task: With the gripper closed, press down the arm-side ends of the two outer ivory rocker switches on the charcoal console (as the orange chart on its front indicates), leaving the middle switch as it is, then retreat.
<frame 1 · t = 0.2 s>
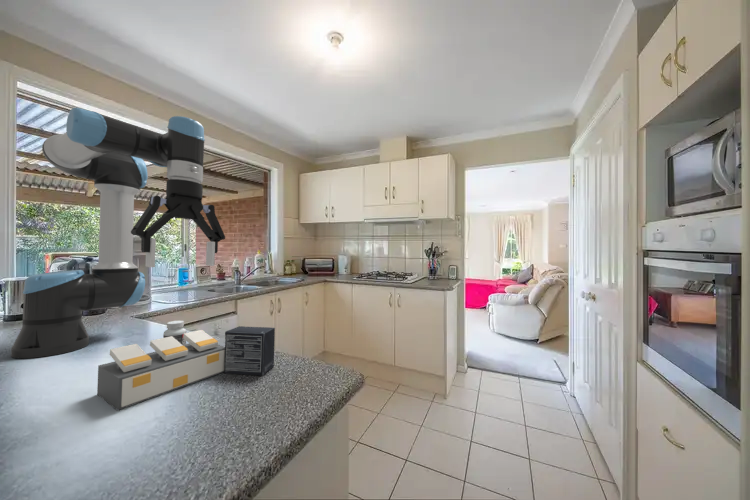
hand: (182, 266, 70), 26 cm above the counter, fingers open, 13 cm apart
switch C: (200, 339, 70), point 8 cm above the counter, hinge at 14.0°
pill bottle: (174, 356, 80), on the counter
switch A: (130, 356, 58), point 8 cm above the counter, hinge at 14.0°
console: (167, 381, 64), on the counter
switch B: (169, 347, 64), point 8 cm above the counter, hinge at 14.0°
small box: (250, 370, 72), on the counter
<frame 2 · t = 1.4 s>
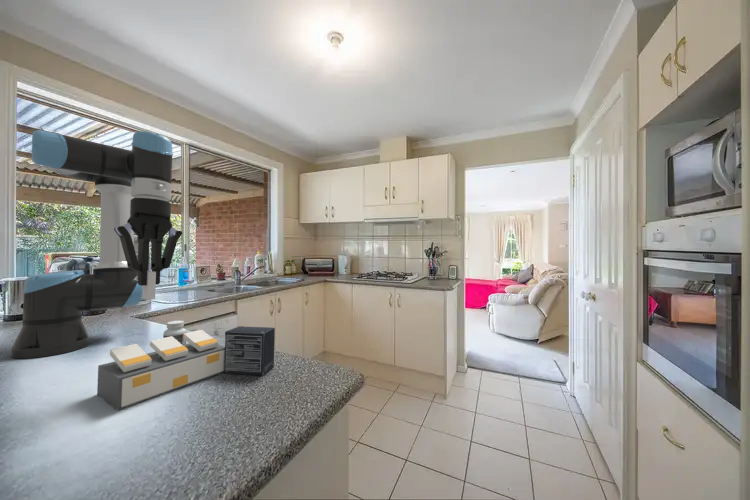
hand: (148, 299, 66), 19 cm above the counter, fingers closed
nothing on the counter moved.
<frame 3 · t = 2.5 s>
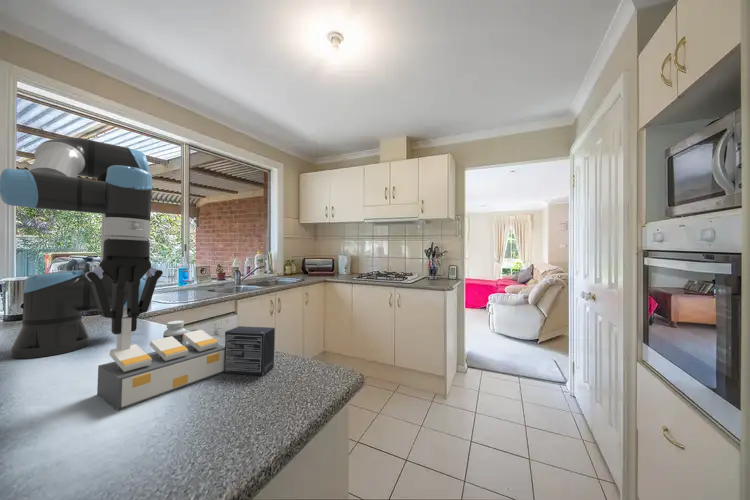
hand: (123, 347, 60), 9 cm above the counter, fingers closed
switch A: (130, 356, 58), point 8 cm above the counter, hinge at 12.1°, touching gripper
everything else where it was.
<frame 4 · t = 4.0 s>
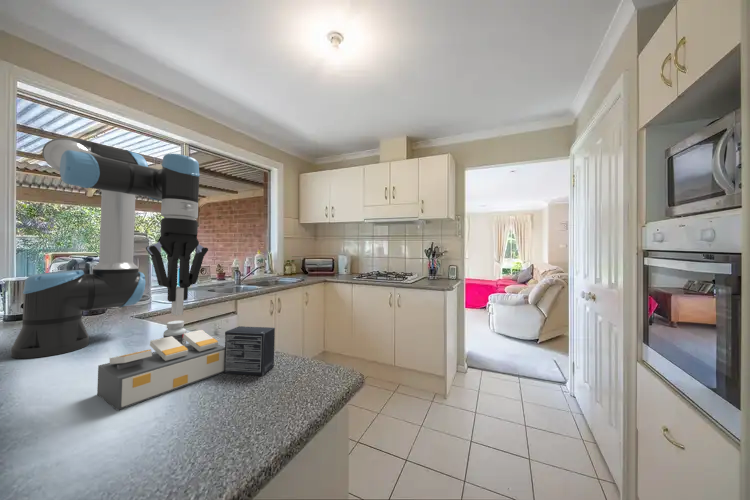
hand: (177, 314, 69), 15 cm above the counter, fingers closed
switch A: (130, 356, 58), point 8 cm above the counter, hinge at -14.0°
everything else where it was.
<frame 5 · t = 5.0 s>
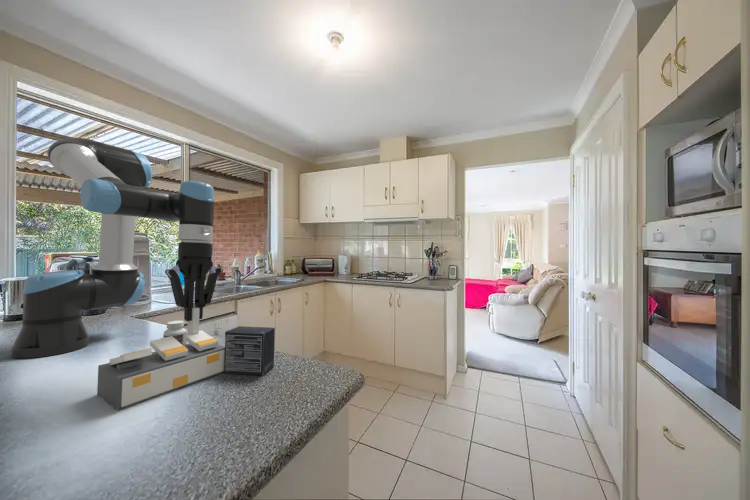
hand: (193, 332, 72), 9 cm above the counter, fingers closed
switch C: (200, 339, 70), point 8 cm above the counter, hinge at 12.2°, touching gripper
switch A: (130, 356, 58), point 8 cm above the counter, hinge at -17.9°
everything else where it was.
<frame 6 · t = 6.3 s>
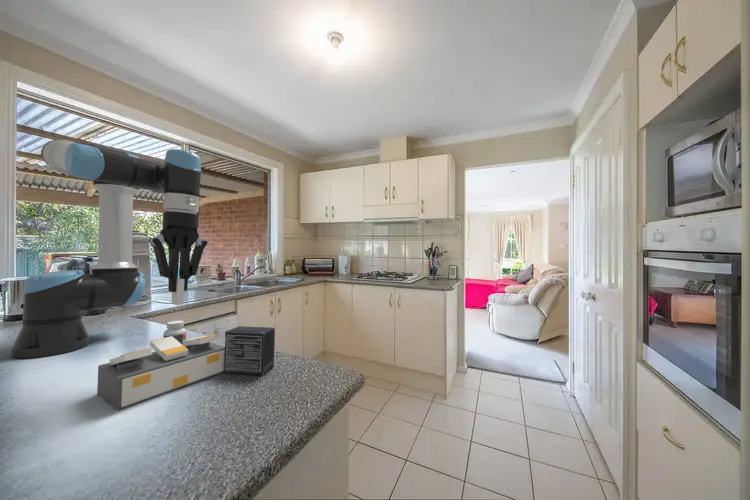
hand: (177, 304, 71), 17 cm above the counter, fingers closed
switch C: (200, 339, 70), point 8 cm above the counter, hinge at -12.3°
switch A: (130, 356, 58), point 8 cm above the counter, hinge at -18.3°, touching console
everything else where it was.
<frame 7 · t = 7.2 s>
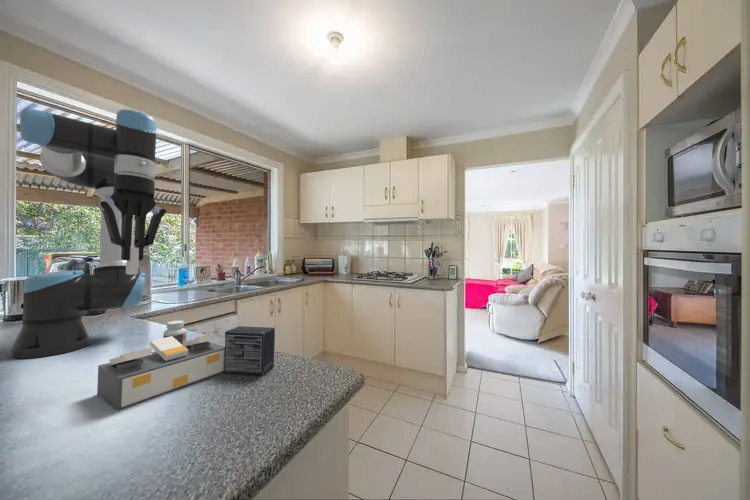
hand: (131, 274, 67), 24 cm above the counter, fingers closed
switch C: (200, 339, 70), point 8 cm above the counter, hinge at -16.8°
everything else where it was.
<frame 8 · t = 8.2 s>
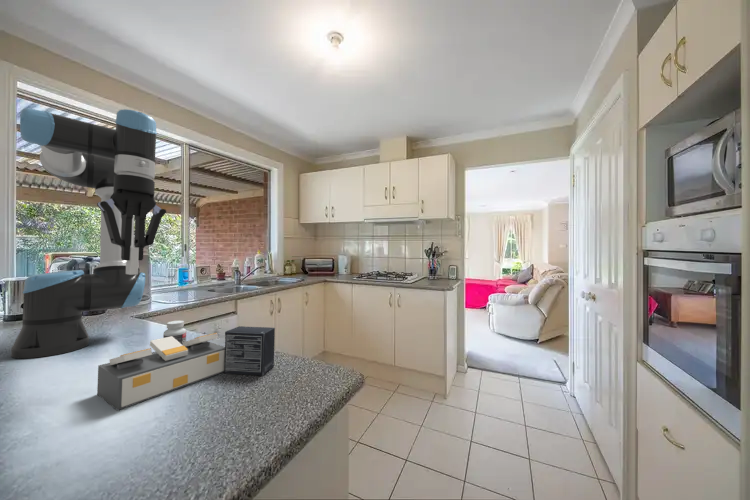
hand: (131, 274, 67), 24 cm above the counter, fingers closed
switch C: (200, 339, 70), point 8 cm above the counter, hinge at -18.8°, touching console
everything else where it was.
at the end: switch A at -18° (first picture: +14°); switch C at -19° (first picture: +14°); switch B at +14° (first picture: +14°) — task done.
